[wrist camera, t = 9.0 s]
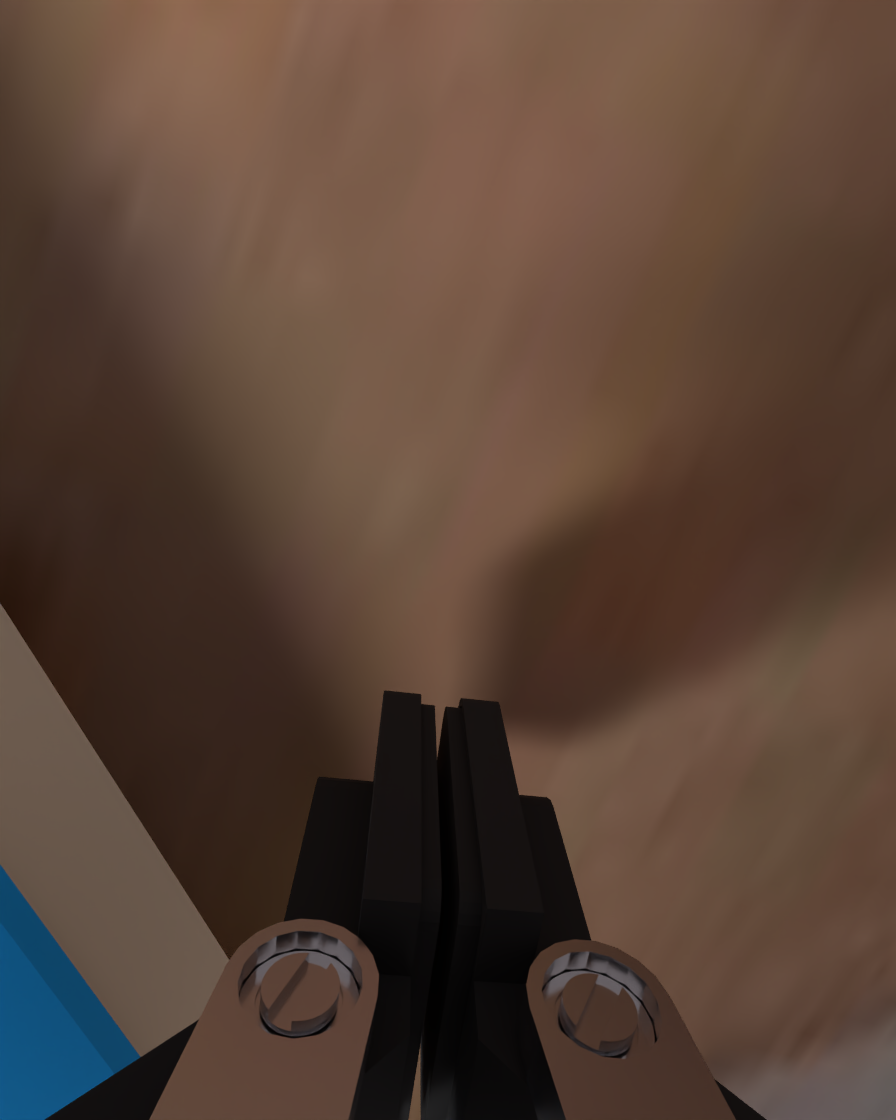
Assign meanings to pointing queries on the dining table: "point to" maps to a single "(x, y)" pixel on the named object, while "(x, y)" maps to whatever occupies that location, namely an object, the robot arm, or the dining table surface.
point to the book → (80, 909)
